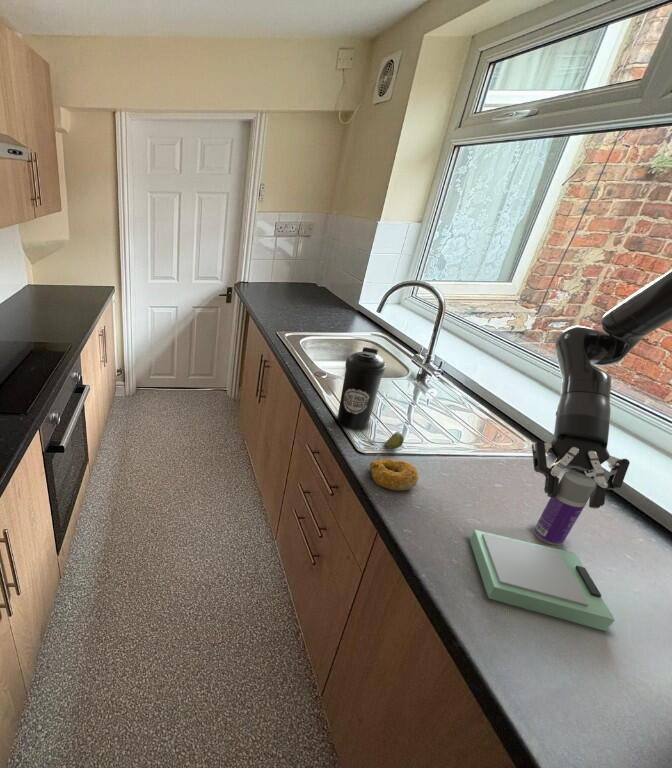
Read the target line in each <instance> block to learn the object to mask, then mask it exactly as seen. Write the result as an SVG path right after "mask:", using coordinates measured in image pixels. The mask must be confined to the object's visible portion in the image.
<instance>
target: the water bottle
mask: <svg viewBox="0 0 672 768" xmlns="http://www.w3.org/2000/svg"><path fill="white" fill-rule="evenodd" d="M378 352H379V349H376V348H372V347H366V346H363V349H362V350H361V351H357V352H354V353H352V354H350V355H349V356H348V357H347V358H346V360H345V364H344V366H345V372H344V378H343V385H342V389H341V395H340V401H339V406H338V413H337V418H336V420H337V423H338V424H339V425H341V426H342V427H344V428H346V429H349V430H353V431H354V430H355V431H362V430H365V429H366V428H368V425H369V422H370V418H371V415H372V412H373V409H374V405H375V402H376V398H377V394H378V392H379V388H380V385H381V381H382V377H383V375H384V374H385V372H386V368H387V363H385V360H384V359H383V357H381V356H380V355H378Z"/></svg>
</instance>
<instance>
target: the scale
mask: <svg viewBox="0 0 672 768" xmlns="http://www.w3.org/2000/svg"><path fill="white" fill-rule="evenodd" d="M469 542H470V546H471V548H472V549H471V550H472V552H473V554H474V558H475V561H476V564H477V567H478V570H479V573H480V576H481V579H482V583H483V586H484V588H485V592H486V594H487V598H488V599H491V600H493V601H497V602H500V603H505V604H508V605H511V606H515V607H517V608H518V607H519V608H522V609H526V610H529V611H532V612H536V613H540V614H542V615H547V616H550V617H554V618H557V619H561V620H564V621H568V622H572V623H575V624H579V625H582V626H586V627H589V628H593V629H597V630H600V631H603V632H607V631H608V629H609V627H611V625H612V624H613V623H614V622H615V618H614V616H613V614H612V612H611V610H610V609H609V607H608V606H607V604H606V603H605V601H604V598H602V594H601V592H600V590H599V589H598V587H597V585H596V584H595V582H594V580H593V579H592V577H591V575H590V574H589V572H588V570H587V569H586V567H585V566H584V565H583V564H582V562H581V560H580V558H579V556H578V555H577V553H575V552H571V551H566V550H564V549H563V550H562V549H559V548H554V547H549V546H547V545H542V544H537V543H533V542H528V541H524V540H521V539H515V538H512V537H507V536H503V535H499V534H495V533H491V532H486V531H482V530H478V529H474V530H473V532H472V534H471V536H470V539H469Z"/></svg>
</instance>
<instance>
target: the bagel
mask: <svg viewBox="0 0 672 768" xmlns="http://www.w3.org/2000/svg"><path fill="white" fill-rule="evenodd" d="M369 469H370V470H371V475H372V476H371V477H372V478H373V482H375V483H376V485H378V486H380V487H382V488H385V489H387V490H391V491H406V490H410V489H413V488H414V487H415V486H417V483H418V481H419V475H418V471H417V469H416V467H415V466H414V465H412V464H411V463H410V462H408V461H405V460H395V459H391V458H380V459H377V460H372V461H371V462H370V463H369Z"/></svg>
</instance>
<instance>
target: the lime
mask: <svg viewBox="0 0 672 768" xmlns="http://www.w3.org/2000/svg"><path fill="white" fill-rule="evenodd" d="M404 440H405V439H404V436H403V434H402V433H401V432H400V431H396V432H394V433H393V434H392V435H391V436H390V437H389V438H388V440H386V442H385V443H384V446H385V447H386V448H389V449H394V450H395V449H399V448H400V447H401V446H403V443H404Z"/></svg>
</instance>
